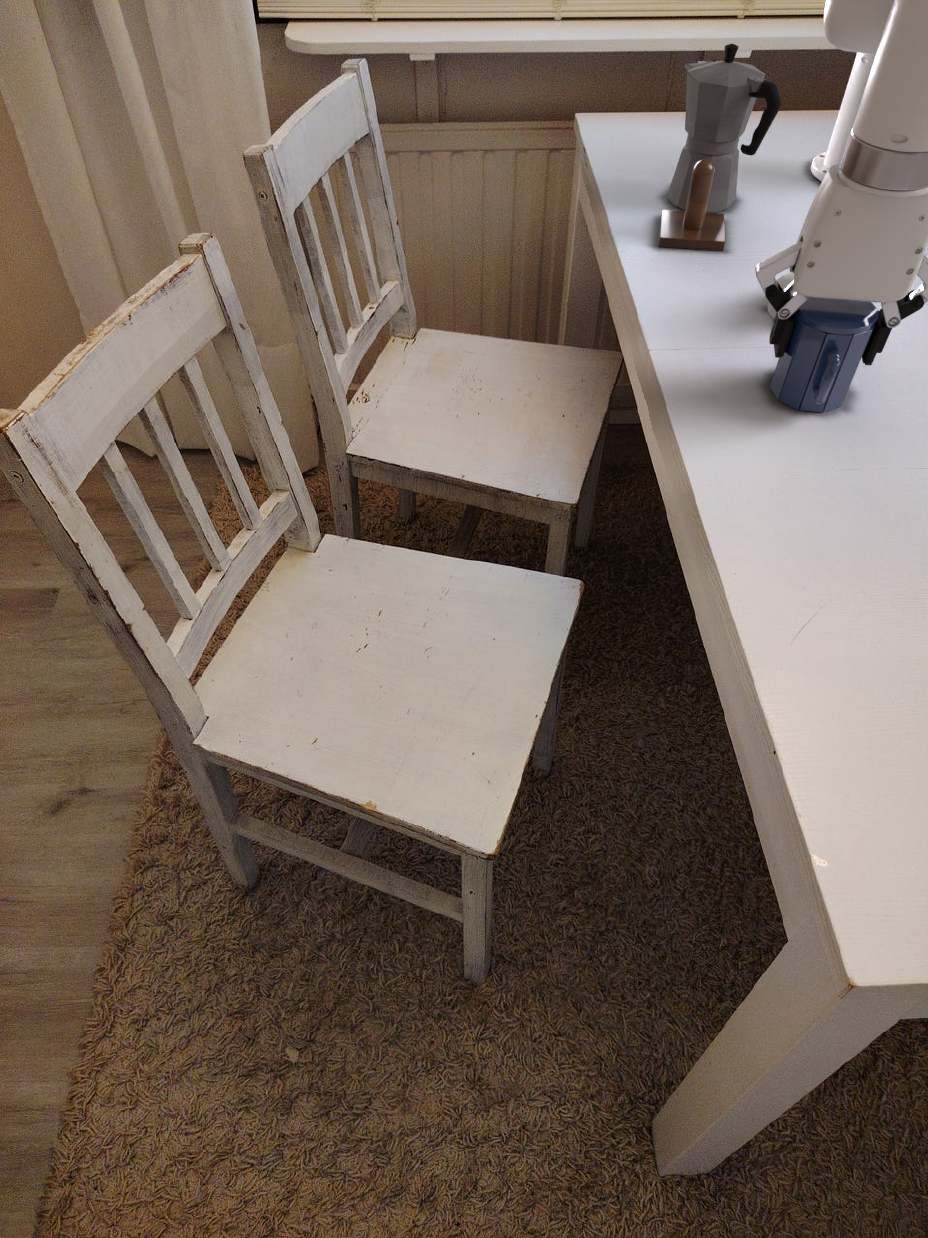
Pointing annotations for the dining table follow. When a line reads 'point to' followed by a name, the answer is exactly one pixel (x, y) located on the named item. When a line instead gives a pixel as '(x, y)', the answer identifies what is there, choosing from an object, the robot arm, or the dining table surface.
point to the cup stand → (695, 216)
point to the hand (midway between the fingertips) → (821, 352)
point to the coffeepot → (721, 124)
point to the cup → (823, 353)
